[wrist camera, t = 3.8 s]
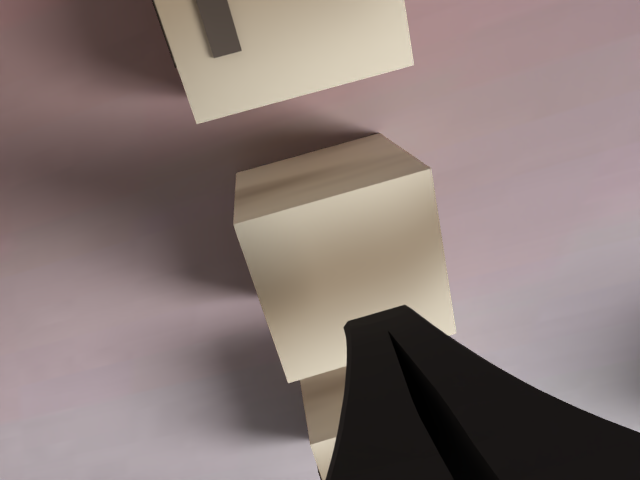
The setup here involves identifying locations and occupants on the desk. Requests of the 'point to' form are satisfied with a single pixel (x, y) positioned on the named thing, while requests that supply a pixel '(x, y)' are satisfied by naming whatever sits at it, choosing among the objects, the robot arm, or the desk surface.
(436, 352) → the robot arm
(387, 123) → the desk surface
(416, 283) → the plain birch block
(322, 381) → the birch block marked 1
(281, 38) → the birch block marked 7
